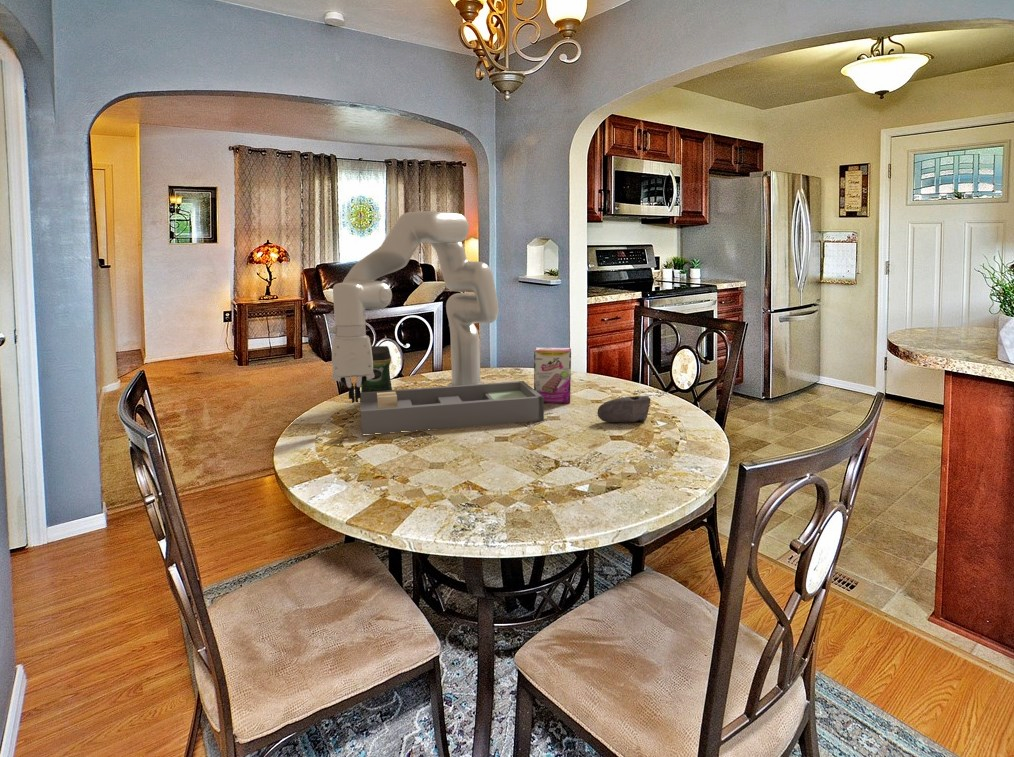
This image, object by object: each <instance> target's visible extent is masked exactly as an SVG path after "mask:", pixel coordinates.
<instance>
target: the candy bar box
mask: <svg viewBox="0 0 1014 757" xmlns="http://www.w3.org/2000/svg"><path fill="white" fill-rule="evenodd" d="M533 356H534V357H533V359H534V362H533V363H534V364H533V389H534V390H535V391H537V392H538V393H539V394H540V395H542V396H543V397H544V404H570V403H571V394H572V393H571V392H572V391H571V390H572V388H571V387H572V384H571V383H572V348H571V347H535V348H534V354H533Z"/></svg>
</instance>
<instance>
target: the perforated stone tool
mask: <svg viewBox="0 0 1014 757" xmlns="http://www.w3.org/2000/svg"><path fill="white" fill-rule="evenodd" d="M651 401H652V400H651V397H650V396H649V395H636V396H635V395H634V396H624V397H618V398H615V399H611V400H608V401H605V402H604V403H602V404H601V405H600V406H599V407H598V409H597V417H598V418H599V419H600V420H602V422H606V423H612V424H613V423H618V424H619V423H620V424H621V423H622V424H625V423H626V424H627V423H628V424H630V423H631V422H632V423H635V422H638V421H639V422H644V421H646V419H648V413H649V411H650V410H649V409H650V406H651Z"/></svg>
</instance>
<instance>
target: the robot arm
mask: <svg viewBox="0 0 1014 757" xmlns="http://www.w3.org/2000/svg"><path fill="white" fill-rule="evenodd" d="M469 231H470V227H469V222H468V220H467V218H466V217H465V216H464V215H463V214H461V213H460V212H447V211H446V212H444V211H435V210H434V211H433V210H426V211H425V210H423V211H408V212H405V213H403V214H401V215H400V216H399V217H398V219H397V220H396V222H395V224H394V225H393V226H392V228H391V230H390V231H389V232H388V235H387V236H386V237H385V239H384V240H383V242H382V244H381V245H380V246H379V247H378V248H377V249H374V250H373V251H372V252H370V253H369V254H367V255H366V256H364V257H363V258H362V259H361V260H359V261H358V262H356V263H355V264H354V265H353V266H352V267H351V269H350V270H349V271H348V273H347V274H346V276H345V277H344V278H343V281H342V282H338V283H335V284H334V285H333V287H332V295H333V296H332V297H333V314H334V326H332V327H329V334H334V335H335V336H334V337H332V343H331V367H332V376H331V379H332V381H336V382H342V383H343V384H344V385H345V387H347V390H348V400H351V403H359V399H360V398H361V394H360V392H361V385H362V384H363V383H364V382H365V381H366V380H369V379H372V378H374V377H375V375H374V372H373V357H372V348H371V346H372V344H371V339H370V336H369V335H367V330H366V328H367V327H366V326H367V325H366V310H382V309H385V308H387V307H388V305H390V304H391V301H392V299H393V293H392V290H391V287H390V286H389V285H388V284H387V283H386V282H383V281H381V280H378V279H379V278H381V277H383V276H386V275H388V274H392V273H395V272H397V271H399V270H401V269H403V268H405V267H406V266H407V265H408V263H409V261H410V260H411V258H412V257H413V255H414V253H415V251H416V250H417V249H418V247H419V245H420V244H421V243H428V244H429V245H431V247H432V248H433V249H434V250H435V253H436V254H437V258H438V261H439V266H440V269H441V273H442V277H443V282H444V285H445V287H446V288H447V289H448V290H449V291H451V292H457V293H453V294H452V295H451V296H449V297H448V299H447V300H446V305H445V308H446V315H447V319H448V325H449V333H450V334H449V335H450V360H451V362H450V364H451V382H449V383H448V384H447V386H459V385H473V384H486V383H485V382H483V381H481V358H480V357H481V354H480V352H481V351H480V350H481V349H480V332H479V330H478V328H477V327H476V325H475V324H486V325H487V324H491V323H494V322H495V321H497V318H498V316H499V313H500V312H499V308H500V307H499V300H498V295H497V291H496V285H495V280H494V276H493V272H492V269H491V267H490V266H489V265H488V264H487V263H485V262H482V261H469V260H468V258H467V255H466V251H465V247H464V244H463V241H465V240H466V239H467V237H468V234H469ZM352 377H356V382H355V383H354V382H353V383H352Z"/></svg>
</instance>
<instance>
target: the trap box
mask: <svg viewBox="0 0 1014 757" xmlns="http://www.w3.org/2000/svg"><path fill="white" fill-rule="evenodd" d="M383 392H396V394H397V404H398V407H393V408H380V409H378V404H377V393H383ZM360 394H361V398H359V406H360V407H359V408H360V422H361V432H362V433H361V434H362V435H363V434H375V433H390V432H401V431H414V432H417V431H416V430H426V431H432V430H431V429H438V430H447V428H449V429H460V428H469V427H470V428H471V427H480V426H481V427H482V426H493V425H503V424H505V425H506V424H517V423H518V424H519V423H529V422H538V421H539V422H540V421H541V422H542V421H544V420H545V405H544V404H545V403H544V397H543V396H542V395H540V394H539V393H538V392H537V391H535V390H534V387H532V386H530V385H529V384H528V383H527V382H525V381H524V380H517V381H504V382H490V383H488V382H487V383H485V384H473V385H459V386H448V385H446V386H433V387H432V386H431V387H419V388H405V389H392V390H388V391H374V392H361V391H360ZM428 429H430V430H428ZM362 435H361V436H362Z"/></svg>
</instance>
